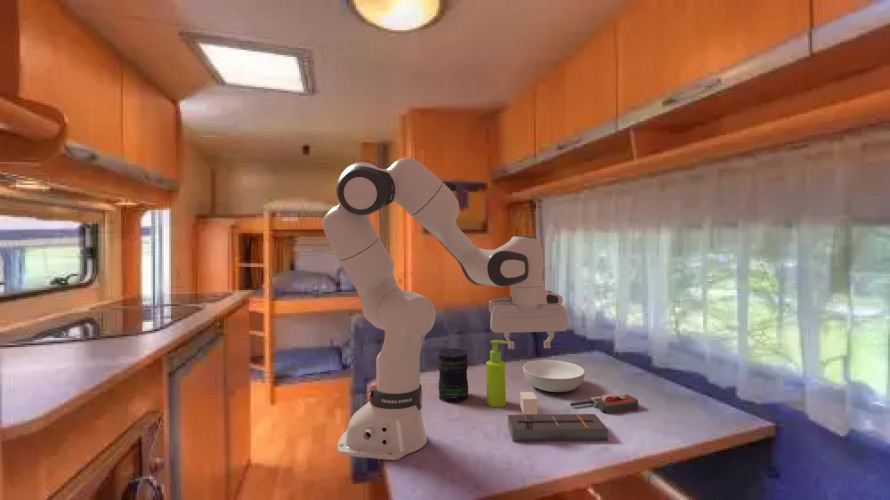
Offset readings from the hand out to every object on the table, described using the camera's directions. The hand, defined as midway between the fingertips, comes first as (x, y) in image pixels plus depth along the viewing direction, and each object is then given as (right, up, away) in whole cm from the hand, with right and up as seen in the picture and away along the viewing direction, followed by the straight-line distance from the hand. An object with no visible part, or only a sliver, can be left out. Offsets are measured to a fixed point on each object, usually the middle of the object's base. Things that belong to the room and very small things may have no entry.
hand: (529, 348), depth 107 cm
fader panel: (+7, -22, -1) cm, 23 cm away
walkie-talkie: (+26, -22, +15) cm, 38 cm away
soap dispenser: (-6, -23, +20) cm, 30 cm away
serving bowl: (+16, -22, +33) cm, 43 cm away
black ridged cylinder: (-20, -23, +26) cm, 40 cm away
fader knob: (0, -19, -1) cm, 19 cm away
